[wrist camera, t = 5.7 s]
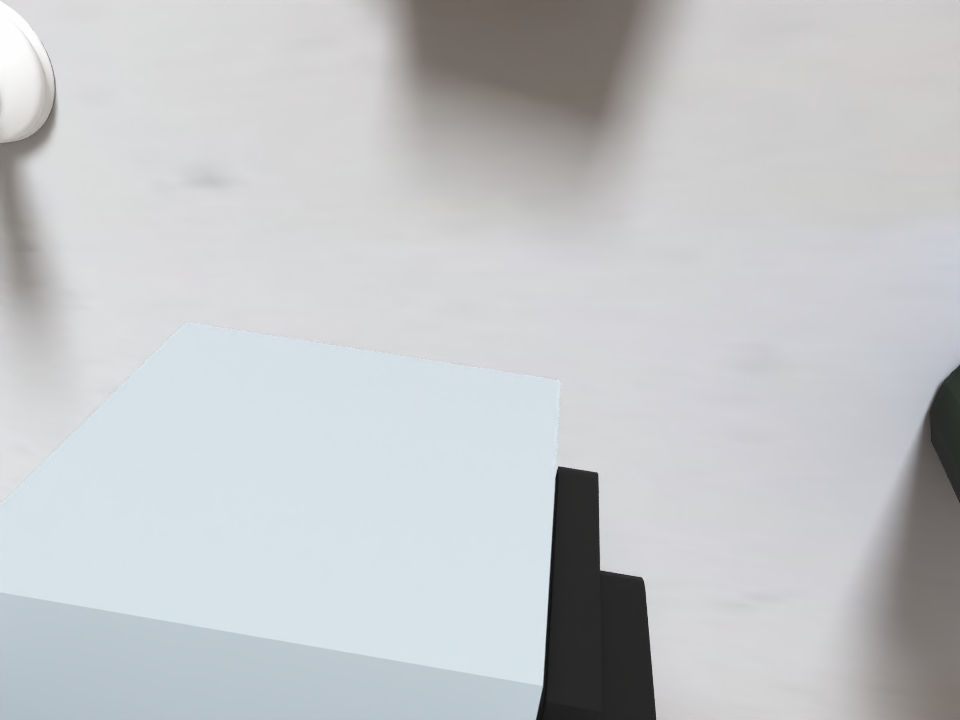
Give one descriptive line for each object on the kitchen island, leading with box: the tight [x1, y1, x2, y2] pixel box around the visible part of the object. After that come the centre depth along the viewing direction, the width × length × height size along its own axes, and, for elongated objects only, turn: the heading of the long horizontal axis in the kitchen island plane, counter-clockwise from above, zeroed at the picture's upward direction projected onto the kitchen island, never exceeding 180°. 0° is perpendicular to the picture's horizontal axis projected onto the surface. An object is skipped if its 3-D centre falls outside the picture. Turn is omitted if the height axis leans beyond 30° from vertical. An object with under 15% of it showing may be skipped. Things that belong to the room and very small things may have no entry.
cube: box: [0, 322, 561, 720], centre depth 10 cm, size 5×5×5 cm
